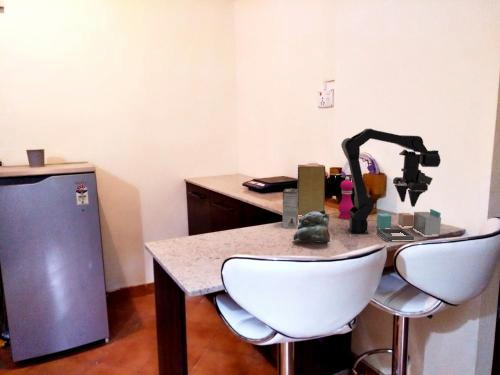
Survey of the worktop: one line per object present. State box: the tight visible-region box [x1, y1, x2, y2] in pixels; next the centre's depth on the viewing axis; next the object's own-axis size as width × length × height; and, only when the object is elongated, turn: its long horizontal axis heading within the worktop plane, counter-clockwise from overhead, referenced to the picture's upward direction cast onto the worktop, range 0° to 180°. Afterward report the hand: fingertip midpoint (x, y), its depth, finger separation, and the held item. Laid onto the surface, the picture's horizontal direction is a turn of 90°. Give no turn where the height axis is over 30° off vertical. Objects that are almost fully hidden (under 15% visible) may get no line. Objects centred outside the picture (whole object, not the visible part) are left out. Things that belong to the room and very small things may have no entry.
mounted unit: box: [413, 208, 442, 235], centre depth 149 cm, size 6×10×10 cm, turn 1°
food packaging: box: [296, 164, 326, 216], centre depth 181 cm, size 13×9×25 cm
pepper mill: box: [338, 176, 354, 220], centre depth 175 cm, size 7×7×20 cm
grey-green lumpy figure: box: [293, 209, 331, 244], centre depth 139 cm, size 15×12×14 cm
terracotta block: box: [397, 212, 414, 227], centre depth 159 cm, size 4×4×6 cm
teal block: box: [376, 213, 392, 229], centre depth 158 cm, size 4×4×6 cm
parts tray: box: [376, 228, 415, 241], centre depth 144 cm, size 10×10×2 cm
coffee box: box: [282, 188, 299, 229], centre depth 162 cm, size 9×6×16 cm
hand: (407, 204), depth 150 cm, fingers open, 9 cm apart
